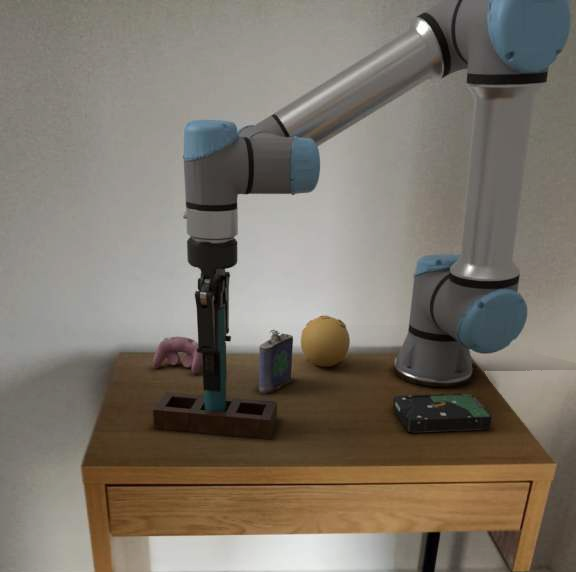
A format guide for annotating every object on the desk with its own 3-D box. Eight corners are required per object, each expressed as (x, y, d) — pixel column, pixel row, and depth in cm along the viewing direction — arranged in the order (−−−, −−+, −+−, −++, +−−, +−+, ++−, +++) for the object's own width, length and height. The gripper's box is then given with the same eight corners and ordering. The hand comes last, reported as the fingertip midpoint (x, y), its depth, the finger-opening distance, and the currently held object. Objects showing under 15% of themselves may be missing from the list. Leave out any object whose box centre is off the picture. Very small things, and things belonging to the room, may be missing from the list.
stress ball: (353, 372, 150) (357, 323, 144) (305, 375, 148) (307, 325, 143) (340, 355, 158) (344, 308, 153) (295, 357, 156) (296, 309, 151)
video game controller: (204, 377, 149) (209, 341, 149) (195, 374, 145) (201, 338, 144) (159, 370, 152) (164, 335, 151) (149, 367, 147) (154, 331, 147)
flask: (266, 395, 139) (267, 338, 133) (254, 391, 140) (254, 335, 135) (294, 380, 145) (296, 326, 140) (281, 376, 147) (283, 323, 141)
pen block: (276, 420, 130) (277, 401, 128) (269, 439, 123) (269, 420, 122) (166, 410, 132) (165, 391, 130) (154, 428, 125) (152, 409, 124)
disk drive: (408, 435, 127) (491, 430, 129) (410, 420, 125) (494, 415, 127) (391, 409, 135) (469, 405, 137) (392, 395, 134) (471, 391, 136)
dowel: (228, 414, 128) (227, 304, 118) (223, 423, 125) (222, 311, 115) (207, 413, 129) (204, 303, 119) (202, 421, 126) (199, 309, 116)
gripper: (201, 224, 119) (205, 365, 131) (172, 248, 105) (179, 403, 117) (247, 227, 118) (247, 368, 130) (224, 251, 104) (226, 407, 116)
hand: (215, 384), depth 124 cm, fingers closed on dowel, 4 cm apart
